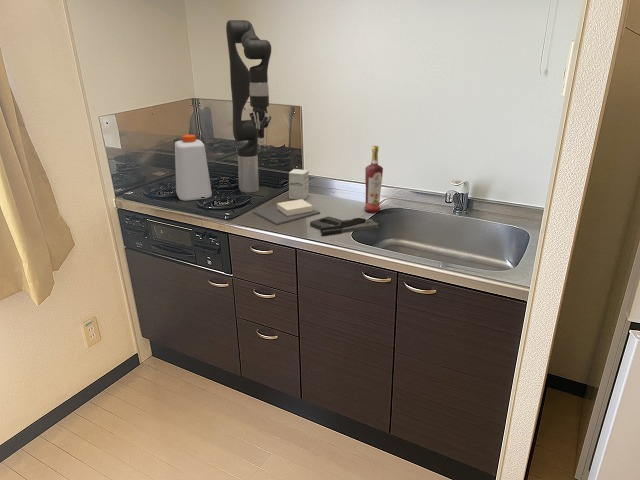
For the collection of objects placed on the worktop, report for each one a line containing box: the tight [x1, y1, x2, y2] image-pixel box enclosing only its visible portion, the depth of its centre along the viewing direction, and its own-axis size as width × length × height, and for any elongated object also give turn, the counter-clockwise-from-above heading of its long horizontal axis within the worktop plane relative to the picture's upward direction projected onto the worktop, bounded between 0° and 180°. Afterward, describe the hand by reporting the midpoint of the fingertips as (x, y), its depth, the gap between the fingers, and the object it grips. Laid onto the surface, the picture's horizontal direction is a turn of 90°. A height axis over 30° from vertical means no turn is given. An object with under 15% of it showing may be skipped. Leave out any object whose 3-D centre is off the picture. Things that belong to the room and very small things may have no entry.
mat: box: [252, 205, 321, 226], centre depth 214 cm, size 18×22×1 cm
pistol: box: [309, 216, 380, 237], centre depth 201 cm, size 2×26×15 cm
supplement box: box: [288, 168, 310, 201], centre depth 231 cm, size 7×7×13 cm
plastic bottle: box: [174, 134, 213, 202], centre depth 230 cm, size 15×15×28 cm
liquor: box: [363, 145, 384, 214], centre depth 212 cm, size 7×7×28 cm
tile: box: [276, 199, 314, 216], centre depth 214 cm, size 10×3×12 cm
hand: (260, 137), depth 206 cm, fingers closed
